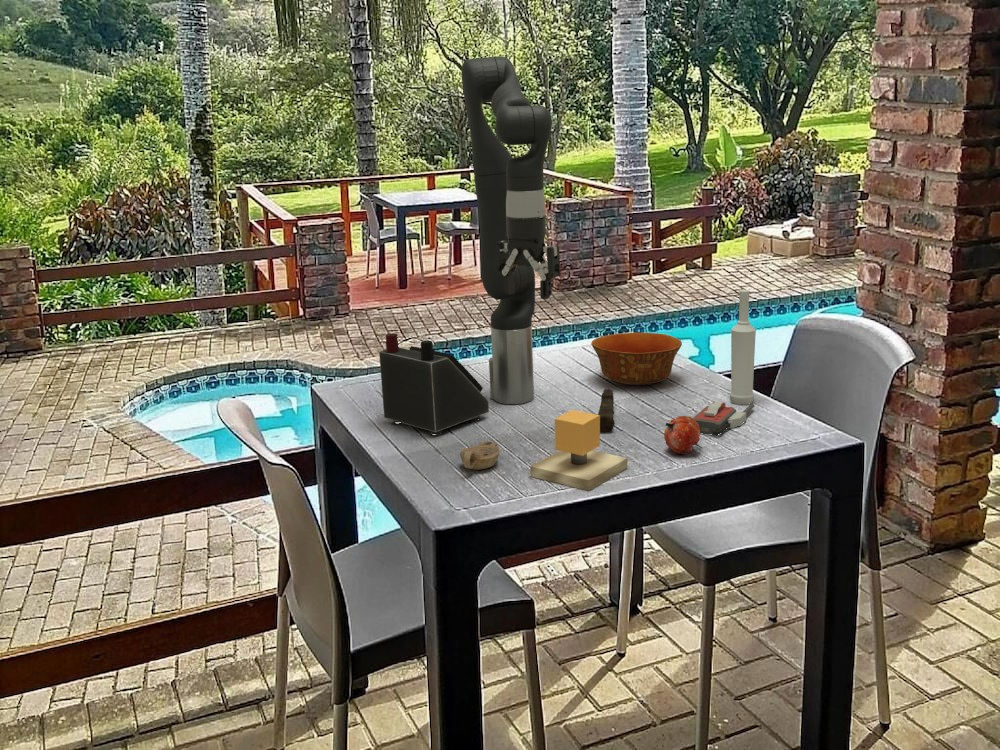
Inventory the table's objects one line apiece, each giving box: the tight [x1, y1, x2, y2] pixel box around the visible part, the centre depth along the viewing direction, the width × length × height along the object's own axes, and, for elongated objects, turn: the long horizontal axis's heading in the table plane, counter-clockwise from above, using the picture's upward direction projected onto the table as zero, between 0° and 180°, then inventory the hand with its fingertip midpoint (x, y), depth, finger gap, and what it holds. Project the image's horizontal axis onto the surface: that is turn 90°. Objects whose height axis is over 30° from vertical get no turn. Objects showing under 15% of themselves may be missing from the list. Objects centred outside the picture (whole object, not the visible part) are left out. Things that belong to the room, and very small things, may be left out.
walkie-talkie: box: [692, 401, 755, 436], centre depth 220 cm, size 9×4×20 cm
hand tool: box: [597, 388, 615, 434], centre depth 225 cm, size 19×4×5 cm, turn 169°
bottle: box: [729, 289, 757, 405], centre depth 229 cm, size 5×5×25 cm
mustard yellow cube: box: [554, 409, 601, 456], centre depth 194 cm, size 6×6×6 cm
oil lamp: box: [459, 441, 500, 471], centre depth 201 cm, size 13×8×5 cm, turn 157°
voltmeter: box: [378, 333, 490, 435], centre depth 226 cm, size 16×16×20 cm
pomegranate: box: [663, 415, 703, 455], centre depth 204 cm, size 7×7×10 cm
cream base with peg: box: [529, 450, 628, 491], centre depth 195 cm, size 13×13×10 cm
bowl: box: [590, 332, 683, 386], centre depth 250 cm, size 21×21×10 cm
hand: (527, 296), depth 206 cm, fingers open, 8 cm apart
